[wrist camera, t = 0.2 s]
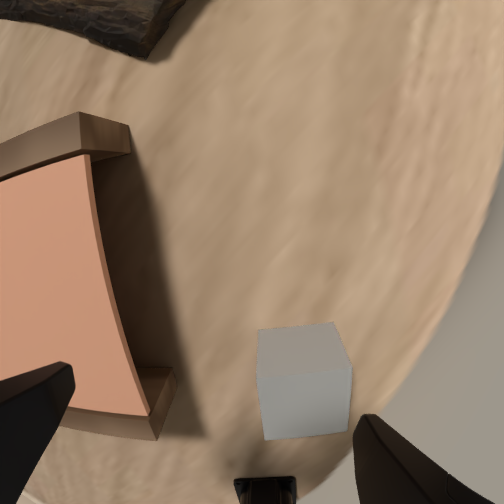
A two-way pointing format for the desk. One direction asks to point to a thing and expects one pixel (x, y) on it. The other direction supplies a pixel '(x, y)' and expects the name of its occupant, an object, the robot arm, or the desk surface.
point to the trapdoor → (62, 288)
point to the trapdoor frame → (98, 147)
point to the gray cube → (303, 381)
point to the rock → (101, 19)
